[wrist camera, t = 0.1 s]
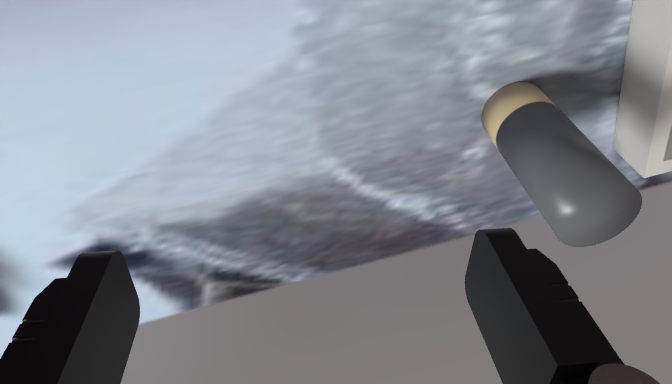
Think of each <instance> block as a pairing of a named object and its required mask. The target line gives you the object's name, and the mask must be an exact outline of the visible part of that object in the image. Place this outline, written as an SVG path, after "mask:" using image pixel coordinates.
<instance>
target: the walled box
mask: <svg viewBox="0 0 672 384" xmlns="http://www.w3.org/2000/svg"><path fill="white" fill-rule="evenodd" d="M613 148H614V149H615V150H616V151H617V152H618V153H619V154H620V155H621V156H622V157H623V158H624V159H625V160H626V161H627V162H628V163H629V164H630V165H631V166H632V167H633V168H634V169H635V170H636V171H637V172H638V173H639V174H640V175H641V176H642V177H643V178H647V177H650V176H654V175H658V174H662V173H665V172H669V171H672V0H633V5H632V12H631V19H630V27H629V34H628V41H627V48H626V56H625V63H624V70H623V78H622V85H621V92H620V99H619V107H618V114H617V121H616V128H615V136H614V143H613Z"/></svg>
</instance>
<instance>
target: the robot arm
mask: <svg viewBox="0 0 672 384" xmlns="http://www.w3.org/2000/svg"><path fill="white" fill-rule="evenodd" d="M465 290H466V295H467V299H468V303H469V305H470V307H471V310H472V312H473V314H474V317H475V319H476V321H477V324H478V326H479V328H480V331H481V333H482V336H483V338H484V340H485V343H486V345H487V347H488V350H489V352H490V354H491V357H492V359H493V362H494V364H495V366H496V369H497V371H498V373H499V376H500V378H501V380H502V383H503V384H660V383H659V382H658V381H656V380H655V379H654V378H652V377H651V376H649V375H648V374H646V373H644V372H643V371H641V370H638V369H636V368H634V367H631V366H627V365H625V364H624V363H623V362H622V361H621V359H620V358H619V356H618V355H617V354H616V352H615V351H614V349H613V348H612V346H611V345H610V343H609V342H608V340H607V339H606V337H605V336H604V334H603V333H602V332H601V330H600V329H599V327H598V326H597V324H596V323H595V321H594V320H593V318H592V317H591V315H590V314H589V312H588V311H587V309H586V308H585V307H584V305H583V304H582V302H579V300H578V296H577V295H576V293H575V292H574V290H573V289H572V287H571V286H568V281H567V280H566V279H565V277H564V276H563V274H562V273H561V271H560V270H559V268H558V267H557V265H556V264H555V263H554V262H552V261H551V260H550V259H549V258H547V257H546V256H545V255H544V254H542V253H541V252H540V251H538V250H537V249H526V247H525V246H524V244H523V243H522V241H521V239H520V238H519V236H518V235H517V233H516V232H515V231H514V230H513V229H512V228H502V229H485V230H478V231H477V232H476V234H475V237H474V242H473V246H472V250H471V255H470V259H469V263H468V267H467V271H466V276H465ZM139 317H140V305H139V299H138V295H137V292H136V290H135V287H134V284H133V281H132V278H131V276H130V273H129V270H128V267H127V264H126V262H125V259H124V256H123V254H122V253H121V252H120V251H105V252H89V253H82V254H80V255H79V256H78V258H77V259H76V261H75V263H74V265H73V267H72V269H71V271H70V273H69V275H68V277H67V278H59V279H55V280H53V281H52V282H51V283H50V284H49V285H48V286H47V287H46V288H45V289H44V290H43V291H42V292H41V293H40V294H38V295H37V296H36V297H35V298H34V300H33V302H32V304H31V305H30V307H29V309H28V311H27V313H26V314H25V316H24V318H23V323H22V324H20V325H19V327H18V329H17V330H16V332H15V334H14V336H13V338H12V339H13V341H12V343H9V345H8V346H7V348H6V350H5V352H4V354H3V355H2V357H1V359H0V384H120V383H121V379H122V376H123V373H124V370H125V367H126V363H127V360H128V357H129V354H130V350H131V347H132V343H133V340H134V337H135V334H136V331H137V327H138V324H139Z"/></svg>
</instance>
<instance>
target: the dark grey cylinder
mask: <svg viewBox="0 0 672 384" xmlns="http://www.w3.org/2000/svg"><path fill="white" fill-rule="evenodd" d="M481 120H482V125H483V127H484V129H485V131H486V132H487V134H488V135H489V137H490V138H491V140H492V141H493V143H494V144H495V146H496V147H497V149H498V150H499V152H500V153H501V154H502V156H503V157H504V159H505V160H506V162H507V163H508V165H509V166H510V168H511V169H512V171H513V172H514V174H515V175H516V177H517V178H518V180H519V181H520V183H521V184H522V186H523V187H524V189H525V190H526V192H527V193H528V195H529V196H530V198H531V199H532V201H533V202H534V204H535V205H536V207H537V208H538V210H539V211H540V213H541V214H542V216H543V217H544V219H545V220H546V221H547V223H548V224H549V226H550V227H551V229H552V230H553V232H554V233H555V235H556V236H557V238H558V239H559V240H560V241H561V242H562V243H564V244H566V245H569V246H574V247H585V246H592V245H596V244H599V243H602V242H604V241H607V240H609V239H611V238H613V237H615V236H616V235H618V234H619V233H621V232H622V231H623V230H624V229H626V228H627V227H628V226H629V225H630V224H631V223H632V222H633V221H634V219H635V218H636V217H637V215H638V213H639V211H640V209H641V205H642V197H641V194H640V192H639V191H638V190H637V189H636V188H635V187H634V186H633V185H632V183H631V182H630V181H629V180H628V179H627V178H626V177H625V176H624V175H623V174H622V173H621V172H620V171H619V170H618V169H617V168H616V167H615V166H614V165H613V164H612V163H611V162H610V161H609V160H608V159H607V158H606V157H605V156H604V155H603V154H602V153H601V152H600V151H599V150H598V149H597V147H596V146H595V145H594V144H593V143H592V142H591V141H590V140H589V139H588V138H587V137H586V136H585V135H584V134H583V133H582V132H581V131H580V130H579V129H578V128H577V127H576V126H575V125H574V124H573V123H572V122H571V121H570V120H569V119H568V118H567V117H566V116H565V115H564V114H563V113H562V111H561V110H560V109H559V108H558V107H557V106H556V105H555V104H554V103H553V102H552V101H551V100H550V99H549V98H548V97H547V96H546V95H545V94H544V93H543V92H542V91H541V90H540V89H539V88H538V87H537V86H536V85H534V84H531V83H528V82H516V83H512V84H509V85H506V86H504V87H502V88H501V89H499V90H498V91H496V92H495V93H494V94H493V95H492V96H491V97H490V98H489V100H488V101H487V102H486V104H485V106H484V108H483V111H482V117H481Z"/></svg>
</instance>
